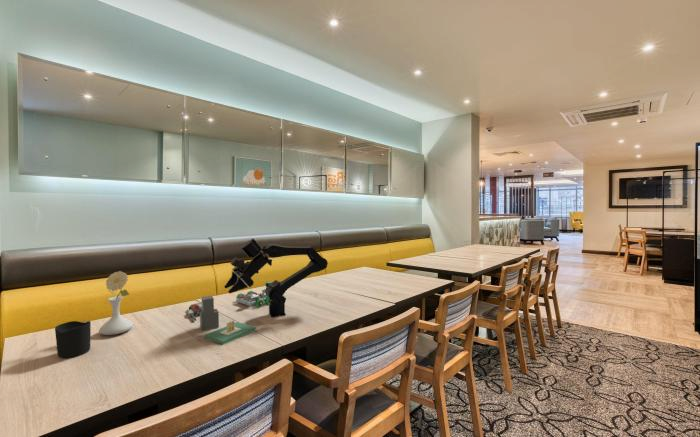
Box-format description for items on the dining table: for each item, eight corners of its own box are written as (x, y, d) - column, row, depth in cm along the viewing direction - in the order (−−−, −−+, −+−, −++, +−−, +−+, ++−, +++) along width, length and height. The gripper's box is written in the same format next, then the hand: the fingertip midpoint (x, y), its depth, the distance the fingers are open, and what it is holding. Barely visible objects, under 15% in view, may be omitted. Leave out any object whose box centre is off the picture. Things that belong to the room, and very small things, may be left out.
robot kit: (291, 298, 180) (291, 281, 179) (252, 310, 160) (252, 291, 159) (269, 292, 191) (269, 276, 190) (230, 303, 171) (230, 285, 171)
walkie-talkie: (184, 311, 159) (192, 323, 143) (184, 302, 159) (192, 313, 143) (203, 307, 164) (213, 319, 148) (203, 299, 164) (213, 309, 148)
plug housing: (216, 323, 142) (216, 295, 141) (218, 327, 138) (218, 297, 137) (200, 326, 138) (199, 297, 137) (201, 330, 134) (200, 300, 134)
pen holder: (87, 344, 121) (86, 317, 121) (95, 352, 115) (93, 323, 115) (53, 353, 114) (52, 325, 113) (59, 362, 108) (58, 332, 107)
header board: (237, 324, 140) (237, 313, 140) (255, 329, 135) (255, 318, 135) (204, 338, 127) (203, 326, 126) (223, 344, 121) (222, 331, 121)
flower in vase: (92, 335, 130) (89, 272, 129) (121, 325, 140) (119, 266, 139) (114, 340, 125) (111, 274, 124) (142, 329, 136) (140, 269, 134)
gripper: (239, 249, 153) (211, 272, 147) (248, 254, 136) (217, 281, 131) (254, 266, 156) (227, 290, 151) (265, 274, 140) (235, 300, 135)
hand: (226, 290), depth 142 cm, fingers open, 9 cm apart
